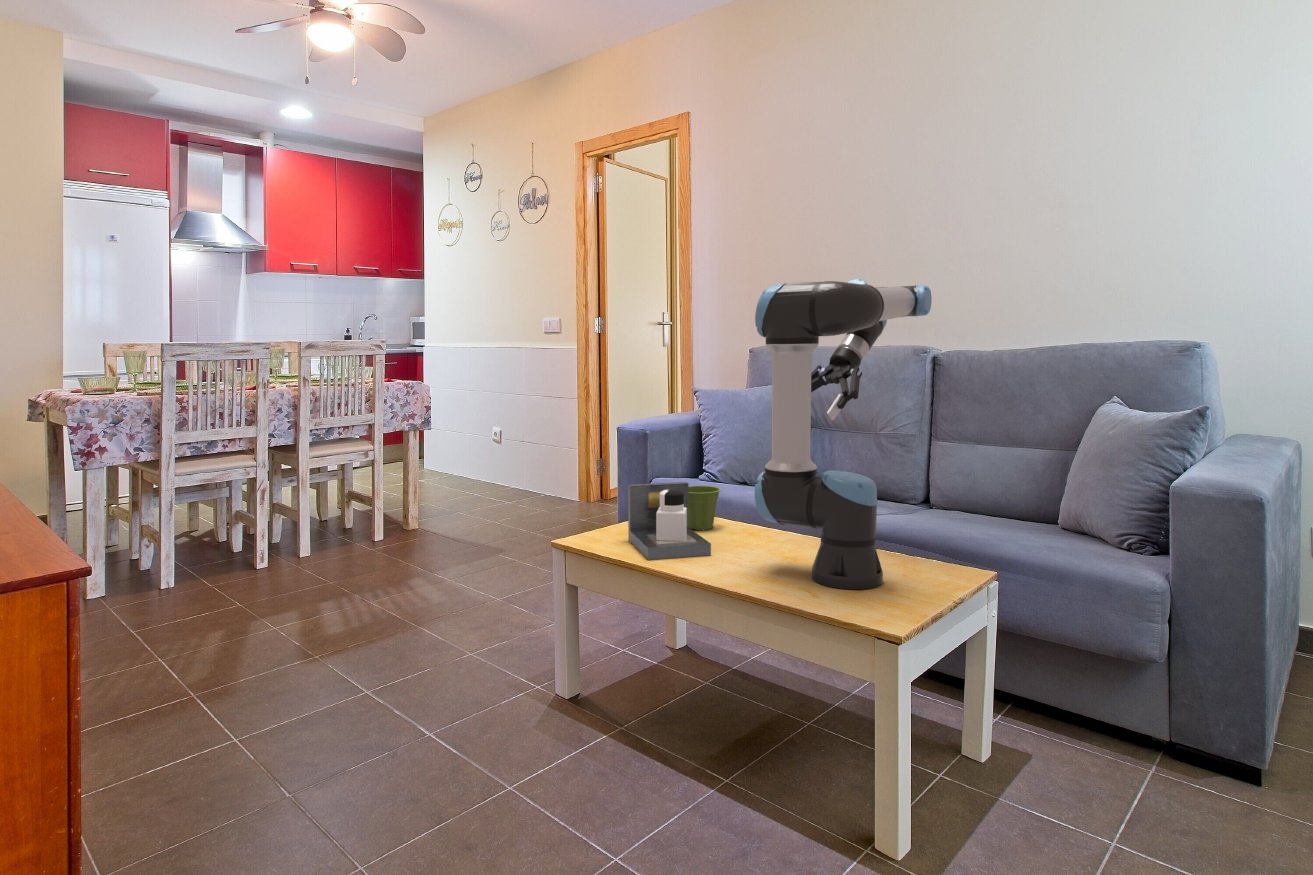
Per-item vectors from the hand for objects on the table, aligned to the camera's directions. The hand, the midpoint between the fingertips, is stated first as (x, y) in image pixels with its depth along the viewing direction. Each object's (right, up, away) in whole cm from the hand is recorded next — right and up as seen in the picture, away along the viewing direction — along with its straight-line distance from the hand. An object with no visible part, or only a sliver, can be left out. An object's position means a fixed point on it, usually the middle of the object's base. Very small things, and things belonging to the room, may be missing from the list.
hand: (809, 415), depth 196 cm
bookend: (-36, -34, 0) cm, 50 cm away
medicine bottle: (-35, -31, -3) cm, 47 cm away
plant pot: (-27, -32, +22) cm, 47 cm away
